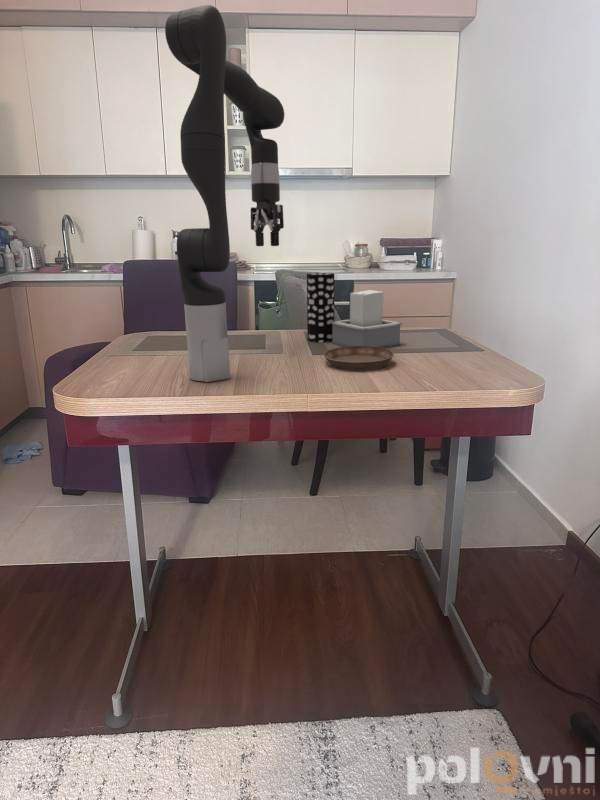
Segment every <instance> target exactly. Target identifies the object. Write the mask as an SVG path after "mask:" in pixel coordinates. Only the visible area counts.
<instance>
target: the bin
mask: <svg viewBox="0 0 600 800" xmlns="http://www.w3.org/2000/svg"><path fill="white" fill-rule="evenodd" d="M331 324H332V341H331V342H332V344H333V345H337V346H340V347H346V346H373V347H380V348H385V349H386V348H390V347H395V346H400V344H401V343H400V342H401V326H402V325H403V322H401V321H400V322H399V321H394V320H387V319H383V321H382V325H375V326H368V327H361V326H356V325H351V324H350V318H349V319H342V320H336V321H335V320H334V322H331Z"/></svg>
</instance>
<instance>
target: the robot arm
mask: <svg viewBox="0 0 600 800" xmlns="http://www.w3.org/2000/svg"><path fill="white" fill-rule="evenodd" d="M164 27H165V28H164V35H165V39H166V44H167V45H168V49H169V51H170V52H171V54H172V56H173V57H174V58H175V59H176V60H177V61H178V62H179V63H180V64H182V65H183V66H184V67H186V68H188V69H189V70H190V71H192V72H194V73H195V74H196V75H198V82H197V85H196V89H195V91H194V93H193V96H192V99H191V100H190V103H189V105H188V106H187V109H186V111H185V115H184V116H183V119H182V122H181V124H180V133H179V134H180V158H181V164H182V167H183V169H184V171H185V173H186V174H187V177H188V178H189V180H190V181H191V183H192V184H193V186H194V187H195V189H196V191H197V192H198V194H199V196H200V197H201V199H202V201H203V203H204V205H205V208H206V212H207V216H208V222H209V223H208V224H209V228H208V227H207V228H205V227H204V228H203V227H202V228H201V227H200V228H199V227H197V228H183V229H181V230H180V231H179V232H178V233H177V239H176V256H177V257H176V258H177V265H178V271H179V279H180V286H181V287H180V288H181V292H182V293H181V294H182V296H183V306H184V307H183V308H184V317H185V319H184V320H185V331H186V343H187V354H188V367H189V378H190V379H191V380H193V381H196V382H205V383H211V382H216V381H222V380H228V379H231V366H230V348H229V339H228V338H229V337H228V326H227V321H228V320H227V307H226V304H227V303H226V292H225V291H224V289H222V288H221V287H218V286H216V285H213V284H211V283H209V282H207V281H206V280H205V279H204V278H203V277H202V275H201V273H221V272H225V271H226V270H227V269H228V267H229V263H230V259H231V258H230V254H231V249H230V248H231V247H230V233H229V225H228V224H229V223H228V212H227V211H228V210H227V201H226V200H227V198H226V195H227V193H226V136H225V134H226V133H225V108H224V106H225V101H224V100H225V99H224V97H227V98H228V100H229V101H231V102H232V104H233V105H235V107H236V108H237V109H238V110H239V111H241V112H242V119H243V122H244V123H243V124H244V127H245V129H246V133H247V136H248V142H249V145H250V150H251V151H250V154H251V156H250V157H251V160H250V161H251V170H250V178H251V179H250V180H251V181H250V182H251V183H250V185H251V202H253V203H255V204H256V207H255V206H254V207H253V206H252V207H250V230H252V231H253V232H254V233H255V235H254V236H255V246H256V247H264V245H265V241H264V240H265V237H264V234H265V233H264V230H265V227H266V226H268V227H269V229H270V230H269V231H270V233H269V234H270V237H269V239H270V246H271V247H279V246H280V231H281V230H282V229H284V228H285V225H284V224H285V223H284V209H283V208H284V205H283V204H276V203H278V202H280V200H281V195H280V194H281V193H280V192H281V191H280V187H281V186H280V170H279V151H278V150H279V149H278V148H279V147H278V143H277V141H276V140H274V139H271V138H264V136H263V134H262V131H265V130H266V131H267V130H274V129H277V128H279V127H281V126H282V124H283V123H284V120H285V109H284V106H283V105H282V103H281V101H280V99H279V98H278V97H276V96H275V95H274V94H273V93H271V92H269V91H268V90H266V89H265V88H262V87H261V86H259V85H258V84H257V83H256V81H255V80H254V79H253V78H252V77H251V75H250V74H249V73H248V72H247V71H246V70H244V69H243V68H242V67H240V66H238V65H237V64H235V63H234V62H231V61H229V60H227V59H226V58H227V35H226V34H227V33H226V27H225V23H224V19H223V16H222V14H221V12H220V11H219V10H218V8H217V7H215V6H214V5H212V4H208V5H207V4H205V5H199V6H195V7H192V8H186V9H182V10H179V11H177V12H173V13H172V14H170V15H169V16H168V17H167V18H166V22H165V26H164ZM224 95H225V96H224Z"/></svg>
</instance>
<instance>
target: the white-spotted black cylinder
mask: <svg viewBox="0 0 600 800" xmlns="http://www.w3.org/2000/svg"><path fill="white" fill-rule="evenodd" d="M306 311H307V312H306V324H307V325H306V326H307V327H306V328H307V329H306V330H307V331H306V333H307V335H306V336H307V339H306V340H307V341H308V342H311V343H318V344H319V343H330V342H332V324H331V322H334V321H335V273H333V272H311V273H310V272H309V273H306Z"/></svg>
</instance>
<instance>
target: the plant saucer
mask: <svg viewBox="0 0 600 800" xmlns="http://www.w3.org/2000/svg"><path fill="white" fill-rule="evenodd" d="M394 355H395V352H393V351H392V350H391V349H389V348H386V347H385V348H380V347H373V346H346V347H344V346H340V347H335V348H331V349H328V350H326V351H325V352H323V357H324V359H325V360H326V361H327V362H328V363H329V364H330V366H332V367H333V368H336V369H339V370H346V371H347V370H348V371H371V370H378V369H381V368H384V367H385V366H387V365H388V364H389V362H390V361H391V360H392V359H393V358H394Z"/></svg>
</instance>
